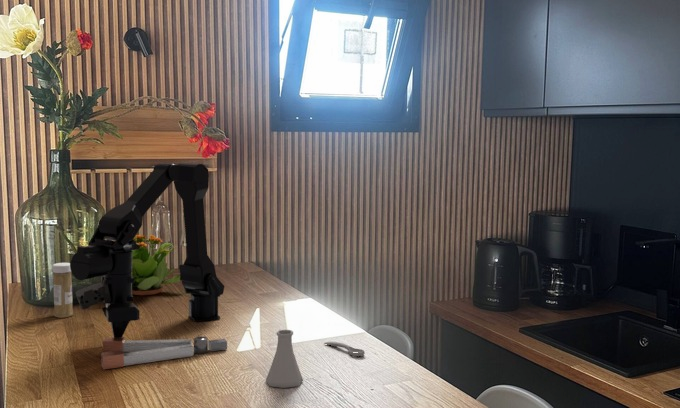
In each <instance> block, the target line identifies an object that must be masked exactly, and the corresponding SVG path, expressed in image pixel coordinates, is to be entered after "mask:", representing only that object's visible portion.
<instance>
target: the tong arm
mask: <svg viewBox="0 0 680 408" xmlns="http://www.w3.org/2000/svg"><path fill="white" fill-rule="evenodd" d="M208 341H209V339H208V337H207V336H196V337H194V338H193V354H198V355H200V354H206V353H208V351H209V349H208ZM189 344H191V345H192V339H191V338H190V339H189V338H187V339H184V338H183V339H139V340H138V339H135V340H133V339H132V340H131V339H130V340H128V339H127V340H125V337H123V336H122V337H114V336H113V337H105V338H104V339H103V340H102V353H104V352H111V351H119V350H122V352H123V353H130V352H137V351H145V350H152V349H160V348H167V347H175V346H182V345H189Z"/></svg>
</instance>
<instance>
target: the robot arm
mask: <svg viewBox="0 0 680 408" xmlns="http://www.w3.org/2000/svg"><path fill="white" fill-rule="evenodd" d="M151 171H152V172H150V174H148V176H147V177H146V178H144V180H143V181H142V182H141V184H139V186H138V187H137V188H136V190H134V191H133V192H132V194H131V195H130V196H129V197H128V198H127V199H126V201H124V202H123V203H121V204H119V205H117V206H115V207H113V208H111V209H110V210H108V211H107V212H106V213H104V214H103V216H101V217H100V219H99V221H98V226H97V227H96V229H95V231H94V233H93V235H92V236H91V239H90V240H89V242H88V245H79V246H77V247H76V252H75V253H74V254H73V255H72V257H71V261H70V262H69V263H70V269H71V275H72V276H73V277H74V278H75V279H76V280H78V281H83V280H89V279H94V278H98V277H100V279H101V281H100V282H98V283H94V284H91V285H88V286H86V287H83V288H80V289H78V290H77V291H74V294H75V297H76V298H77V301H78V303H79V306H80V308H81V310H87V309H89V308H90V307H92V306H94V305H97V304H99V303H103V304H104V305H105V306H104V307H101V311H102V312H103V315H104V317H105V318H106V320H107V322H108V323H110V326H111V329H112V335H113V337H123V335H124V334H125V332H126V329H127V328H128V326H129V323H130V322H133V321H139V320H140V310H139V309H140V308H138V307H137V305H136V304H135V303H134V296H133V294H132V283H134V278H133V277H132V250H137V249H140V246H139V245H138V244H137V241H136V242H135V241H134V240H133V239H134V238H135V236H136V235H138V233H139V231H140V229H141V228H142V226H143V219H144V216H145V214H146V213H147V212H148V211H149V210H150V209H151V208H152V206H153V205H154V204H155V203H156V201H157V200H158V199H159V198H160V196H161V195H162V194H163V193H165V191H166V190H167V189H168V187H170V185H171V184H172V182H173V185H174V189H175V191H176V192H177V194H178V196H179V197H180V198H181V200H182V208H183V209H182V210H183V221H184V225H183V226H184V233H185V234H184V235H185V236H184V237H185V247H186V257H185V259H184V262H183V263H182V264H179V266H178V269H179V275H180V280H181V285H182V286H183V288H184V292H185V294H186V295H187V294H188V295H189V294H190V299H188V316H189V317H190V318H191V320H193V321H194V322H205V321H214V320H220V319H221V316H219V298H220V297H221V295H223V294H224V290H225V285H224V284H223V283H222V282H221V280H220V279H219V278H218V277H217V272H216V267H215V264H214V262H213V261H212V259H211V258H210V256H209V255H208V247H207V246H208V244H207V232H206V220H205V206H204V205H205V203H204V197H206V194H207V192H208V189H209V186H210V172H209V169H208V167H206V165H204V164H203V163H193V162H192V163H190V162H180V163H178V164H174V163H167V162H166V163H165V162H160V163H158V164H155V165H154V167H153V170H151Z"/></svg>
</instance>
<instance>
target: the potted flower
mask: <svg viewBox="0 0 680 408" xmlns="http://www.w3.org/2000/svg"><path fill="white" fill-rule="evenodd" d="M133 240H134V241H135V242H136V243H137V244H138V245H139V246H140V249H137V250H132V277H133V278H134V283H132V295H135V296H152V295H153V296H154V295H156V294H160V293H161V292H163V289H164V285H169V284H170V285H171V284H174V283H178V282H180V281H181V282H182V280H180V274H179V275H174V276H172V277H170V278H168V279H166V280H165V278H166V277H167V276H169V275H170V274H171V273H172V272H174V270H175V269H174V268H172V269H170V271H168V270H169V268H168V262H166V261H165V259H166V258H167V256H168V255H169V253H171V251H172V250H173V249H174V248H175V244H174V245H173V244H172V243H170V242H164V243H163V240H162V238H159V237H157V236H156V235H153V234H150V237H148V238H147V237H146V236H145V235H143V234H136V236H135V238H134V239H133ZM145 242H147V243H145ZM160 243H162V244H160ZM148 245H149V248H147V247H148ZM157 245H158V246H159V248H158V249H157V250H155V251H154V250H153V249H155V248H156V247H157ZM169 247H171V248H170V249H167V248H169ZM153 251H154V254H153Z"/></svg>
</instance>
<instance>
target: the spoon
mask: <svg viewBox="0 0 680 408" xmlns="http://www.w3.org/2000/svg"><path fill="white" fill-rule="evenodd" d="M324 344H327V345H331V346H330V347H339V348H343V349H345V350H347V352H348V354H349V355H350V356H351V355H353V356H362V357H364V355H365V350H364V349H360V348H355V347H352V346H350V345H348V344H347V343H342V342H340V341H339V342H338V341H325V342H324V343H323V345H324ZM353 352H358V353H353ZM353 356H352V357H353Z"/></svg>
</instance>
